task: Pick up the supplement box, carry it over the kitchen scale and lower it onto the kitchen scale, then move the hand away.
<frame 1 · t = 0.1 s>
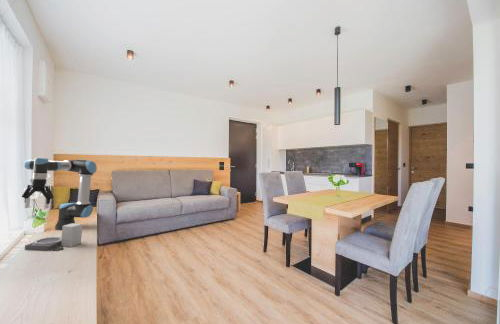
hand: (36, 207, 162), 28 cm above the worktop, fingers open, 13 cm apart
supplement box: (71, 244, 169), on the worktop
kitchen scale: (48, 245, 164), on the worktop
lens cap: (58, 250, 158), on the worktop
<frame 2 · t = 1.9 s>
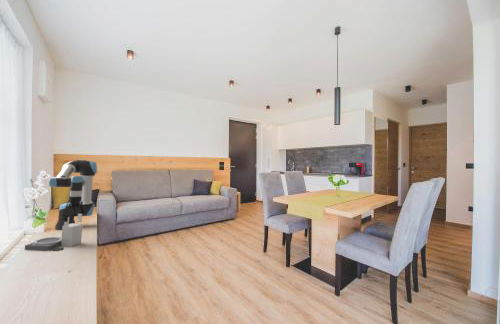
hand: (73, 223, 169), 16 cm above the worktop, fingers open, 13 cm apart
nothing on the worktop moved.
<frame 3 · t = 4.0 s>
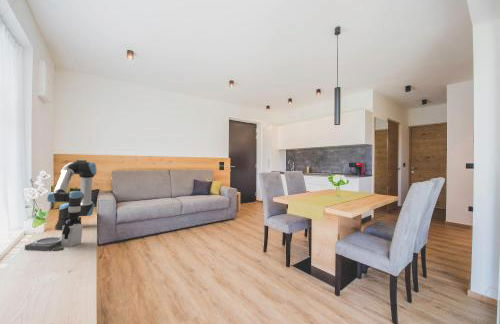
hand: (71, 241, 169), 3 cm above the worktop, fingers closed on supplement box, 9 cm apart
supplement box: (71, 244, 169), on the worktop, touching gripper
everything else where it was.
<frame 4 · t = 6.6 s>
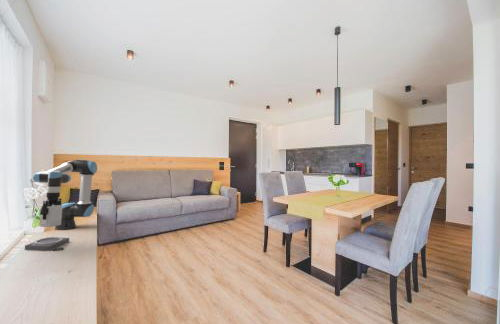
hand: (50, 222, 165), 17 cm above the worktop, fingers closed on supplement box, 9 cm apart
supplement box: (50, 225, 165), point 14 cm above the worktop, touching gripper
everything else where it was.
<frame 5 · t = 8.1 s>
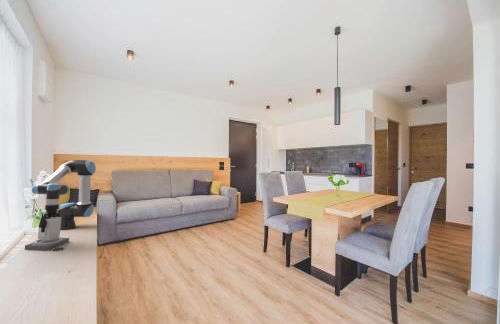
hand: (49, 234, 165), 8 cm above the worktop, fingers closed on supplement box, 9 cm apart
supplement box: (48, 238, 164), point 5 cm above the worktop, touching gripper
everything else where it was.
when the fingers open (7 cm above the worktop, at t = 9.3 s): supplement box drops 1 cm, resting on kitchen scale.
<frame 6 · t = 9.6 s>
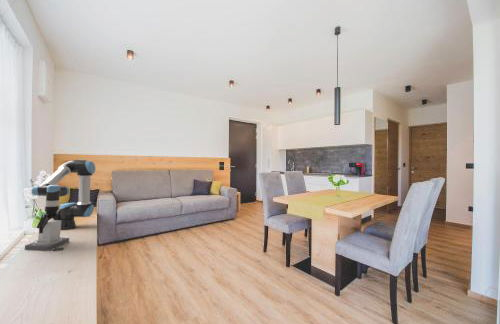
hand: (49, 234, 165), 8 cm above the worktop, fingers open, 13 cm apart
supplement box: (49, 241, 165), point 3 cm above the worktop, touching kitchen scale
everything else where it was.
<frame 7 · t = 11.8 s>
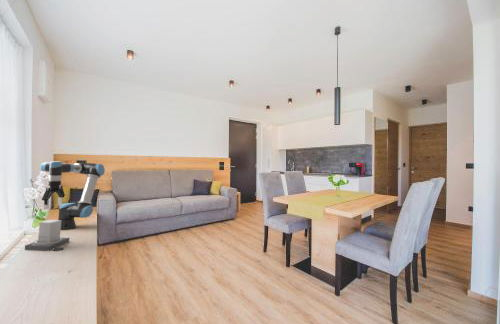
hand: (53, 207, 177), 26 cm above the worktop, fingers open, 13 cm apart
nothing on the worktop moved.
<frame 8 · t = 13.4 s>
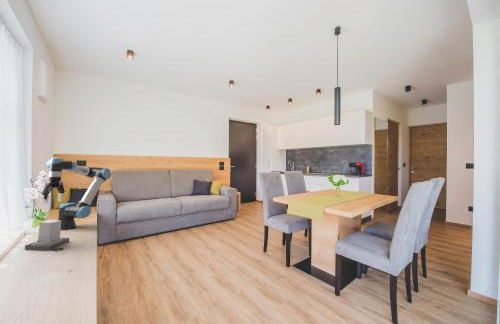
hand: (52, 202, 183), 29 cm above the worktop, fingers open, 13 cm apart
nothing on the worktop moved.
at the end: supplement box inside the target area on the kitchen scale (0.4 cm from its centre), point 2.8 cm above the kitchen scale's base; supplement box tilted 0°; the gripper is holding nothing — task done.
